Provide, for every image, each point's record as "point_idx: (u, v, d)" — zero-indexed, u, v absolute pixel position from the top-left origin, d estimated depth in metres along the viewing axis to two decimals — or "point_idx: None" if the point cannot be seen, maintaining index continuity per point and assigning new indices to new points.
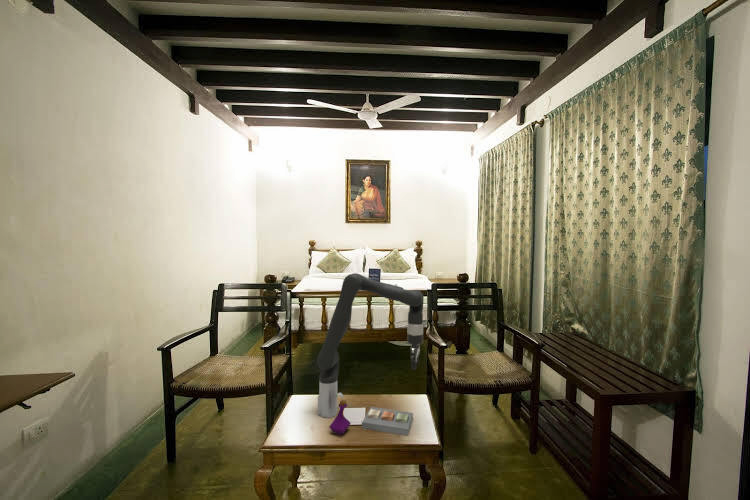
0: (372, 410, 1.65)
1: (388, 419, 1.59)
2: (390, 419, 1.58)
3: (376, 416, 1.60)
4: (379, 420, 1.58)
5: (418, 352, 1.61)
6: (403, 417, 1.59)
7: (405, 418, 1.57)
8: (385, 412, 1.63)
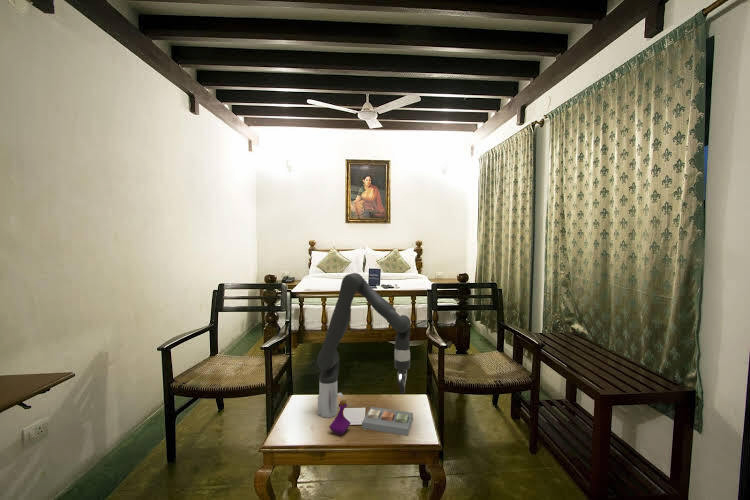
0: (372, 410, 1.65)
1: (388, 419, 1.59)
2: (390, 419, 1.58)
3: (376, 416, 1.60)
4: (379, 420, 1.58)
5: None
6: (403, 417, 1.59)
7: (405, 418, 1.57)
8: (385, 412, 1.63)
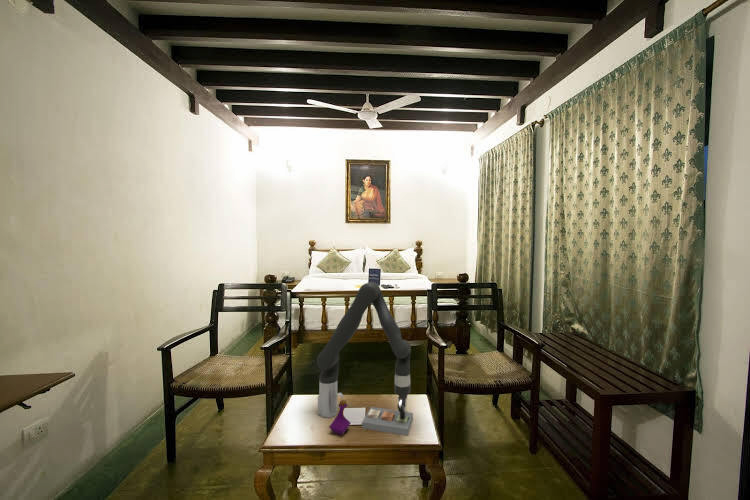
0: (372, 410, 1.65)
1: (388, 419, 1.59)
2: (390, 419, 1.58)
3: (376, 416, 1.60)
4: (379, 420, 1.58)
5: None
6: None
7: (405, 420, 1.58)
8: (385, 412, 1.63)
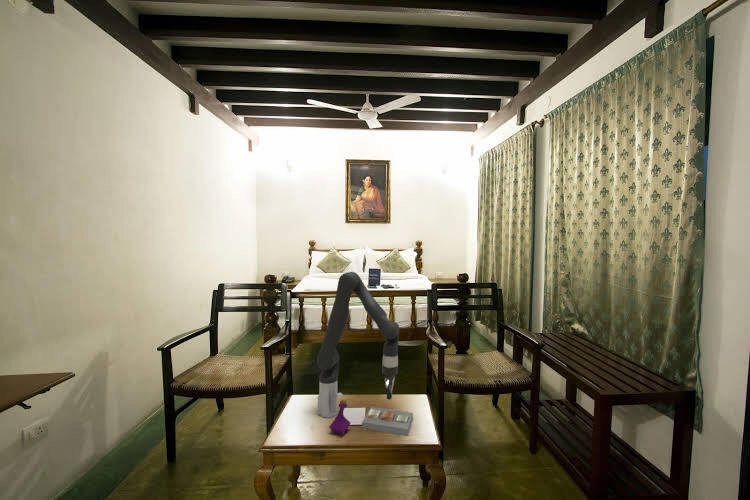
0: (372, 410, 1.65)
1: (388, 419, 1.59)
2: (390, 419, 1.58)
3: (376, 416, 1.60)
4: (379, 420, 1.58)
5: None
6: (403, 419, 1.59)
7: (405, 420, 1.58)
8: (385, 412, 1.63)
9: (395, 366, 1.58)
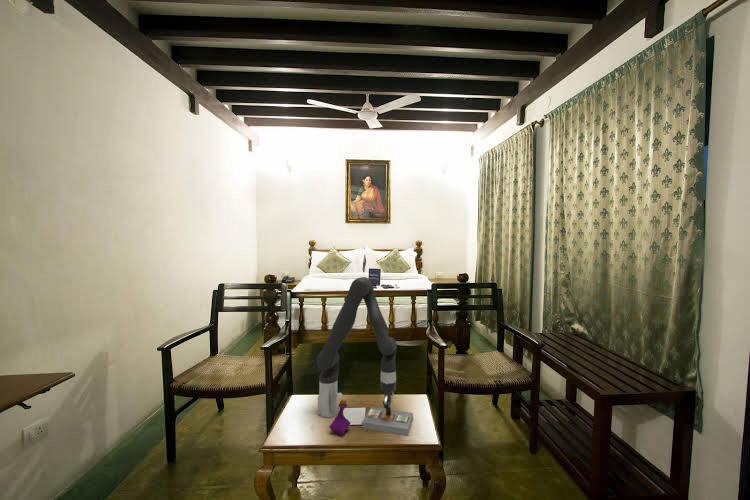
0: (372, 410, 1.65)
1: (388, 419, 1.59)
2: (390, 419, 1.58)
3: (376, 416, 1.60)
4: (379, 420, 1.58)
5: None
6: (403, 419, 1.59)
7: (405, 420, 1.58)
8: (385, 412, 1.63)
9: (393, 382, 1.58)
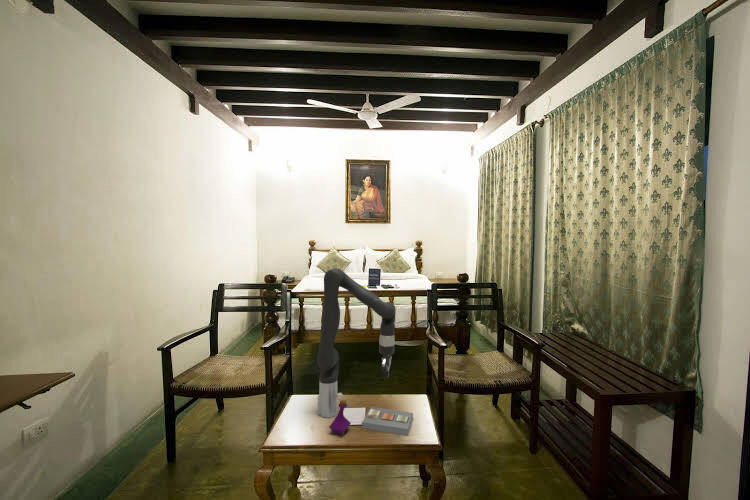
0: (372, 410, 1.65)
1: None
2: None
3: (376, 416, 1.60)
4: (379, 420, 1.58)
5: None
6: (403, 419, 1.59)
7: (405, 420, 1.58)
8: (385, 414, 1.63)
9: (392, 345, 1.61)
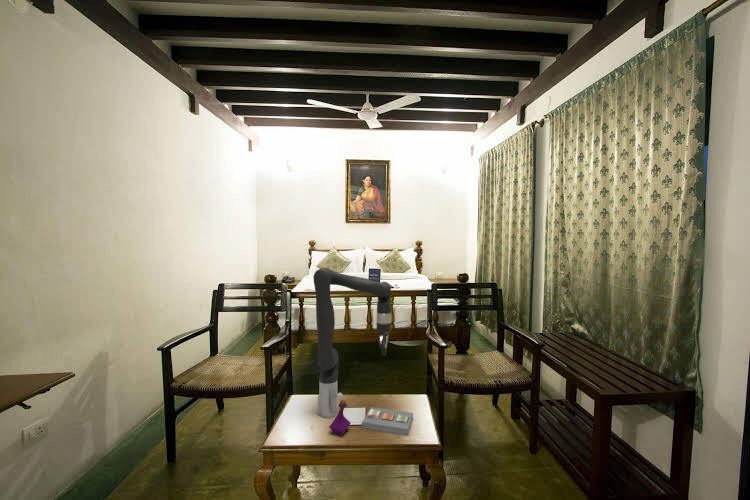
0: (372, 410, 1.65)
1: None
2: None
3: (376, 416, 1.60)
4: (379, 420, 1.58)
5: None
6: (403, 419, 1.59)
7: (405, 420, 1.58)
8: (385, 414, 1.63)
9: (388, 323, 1.65)
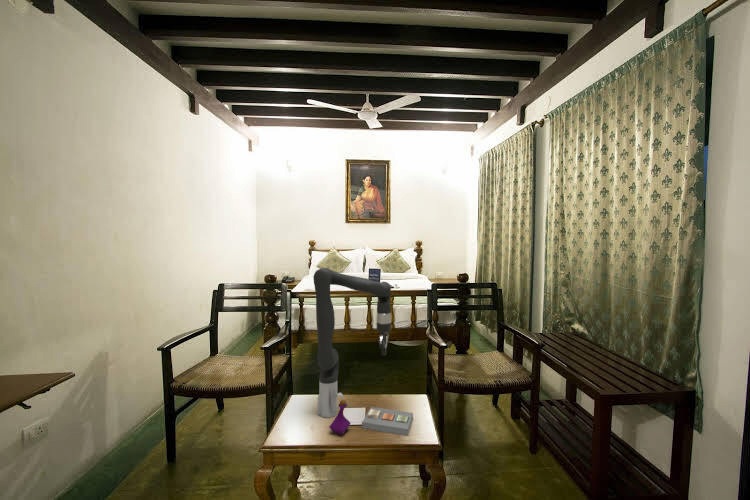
0: (372, 410, 1.65)
1: None
2: None
3: (376, 416, 1.60)
4: (379, 420, 1.58)
5: None
6: (403, 419, 1.59)
7: (405, 420, 1.58)
8: (385, 414, 1.63)
9: (388, 323, 1.65)
